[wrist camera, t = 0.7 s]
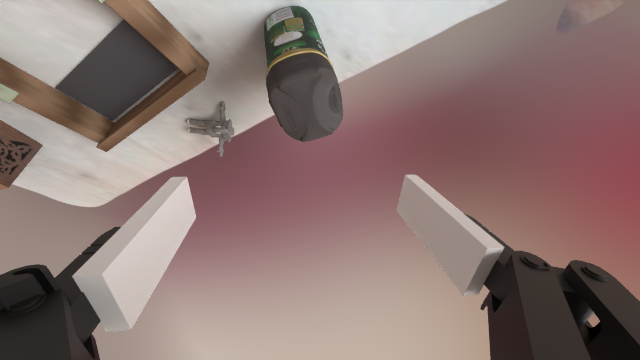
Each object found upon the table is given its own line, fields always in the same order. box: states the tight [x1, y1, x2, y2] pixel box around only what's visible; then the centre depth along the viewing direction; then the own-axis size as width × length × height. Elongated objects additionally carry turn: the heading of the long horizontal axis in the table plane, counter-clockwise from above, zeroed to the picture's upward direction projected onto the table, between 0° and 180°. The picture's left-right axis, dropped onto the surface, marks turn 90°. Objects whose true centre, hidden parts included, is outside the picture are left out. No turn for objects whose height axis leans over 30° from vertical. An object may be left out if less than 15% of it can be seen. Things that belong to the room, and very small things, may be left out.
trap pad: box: [56, 19, 178, 120], centre depth 34 cm, size 8×19×1 cm, turn 118°
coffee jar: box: [264, 6, 343, 142], centre depth 29 cm, size 10×8×19 cm
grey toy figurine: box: [187, 102, 234, 156], centre depth 42 cm, size 10×6×9 cm
